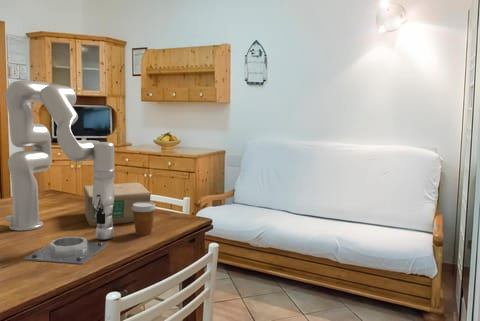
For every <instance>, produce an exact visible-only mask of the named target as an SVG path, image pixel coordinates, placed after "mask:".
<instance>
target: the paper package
mask: <svg viewBox="0 0 480 321" xmlns="http://www.w3.org/2000/svg"><path fill="white" fill-rule="evenodd" d="M83 192H84V215H85V218H86V221H87V223H88V225H89V227H94V226H95V227H97V214H96V210H95V208H94V205H93V204H92V196H93V184H91V185H84V186H83ZM114 194H115V195H114V204H113V211H112V212H113V219H112V222H113V225H115V224H124V223H125V224H126V223H132V222H134V215H133V210H132V206H133V204H134V203H138V202H151V195H152V193H151V192H150V191H149V190H148V189H147V188H146V187H144V185H142V184H141V183H140V182H127V183H126V182H125V183H114Z"/></svg>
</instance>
